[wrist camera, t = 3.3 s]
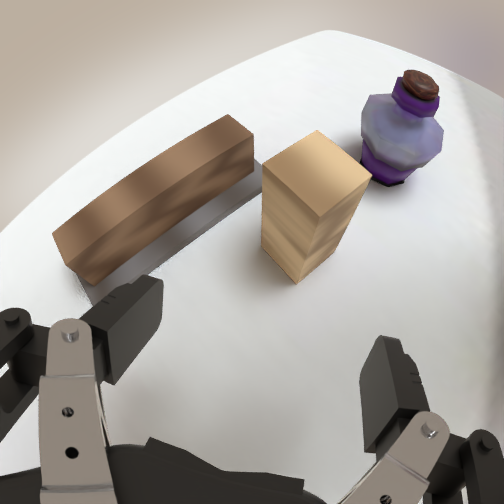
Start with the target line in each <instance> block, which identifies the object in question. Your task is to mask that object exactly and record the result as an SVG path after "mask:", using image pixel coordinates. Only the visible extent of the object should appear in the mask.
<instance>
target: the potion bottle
mask: <svg viewBox="0 0 504 504" xmlns="http://www.w3.org/2000/svg"><path fill="white" fill-rule="evenodd" d="M438 92H439V86H438V85H437V84H436V83H435V81H434V80H433V79H432V78H431V77H430V76H428V75H427V74H425V73H422V72H420V71H416V70H407V71H404V75H403V77H398V78H397V81H396V84H395V86H394V89H393V92H392V94H376V95H370V96H369V98H368V100H367V102H366V104H365V106H364V108H363V111H362V116H361V136H362V138H363V146H362V158H361V160H360V164H361V165H362V166H363V167H364V168H365V169H366V170H367V171H368V172H370V173H371V174H372V177H371V179H372V180H374V181H376V182H378V183H380V184H382V185H384V186H387V187H390V186H395V185H399V184H403V183H404V180H405V178H407V177H408V176H409V175H410V174H411V173H412V172H414V171H415V170H416V169H417V168H421V167H423V166H425V165H426V164H427V163H428V162H429V161H430V160H431V159H433V158H434V157H435V156H436V155H437V154H438V153H440V152H441V148H442V141H443V132H444V130H443V129H442V128H441V126H440V125H439V124H438V122H437V121H436V120H435V119H434V115H435V113H436V111H437V109H438V107H439V99H440V97H439V96H438Z"/></svg>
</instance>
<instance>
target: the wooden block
mask: <svg viewBox="0 0 504 504" xmlns="http://www.w3.org/2000/svg"><path fill="white" fill-rule="evenodd" d="M371 177H372V174H371V173H370V172H368V171H367V170H366V169H365V168H364V167H363V166H361V165H360V164H359V163H358V162H357V161H356V160H354V159H353V158H352V157H351V156H350V155H348V154H347V153H346V152H345V151H343V150H342V149H341V148H340V147H339V146H337V145H336V144H335V143H334V142H332V141H331V140H330V139H328V138H327V137H326V136H325V135H323V134H322V133H321V132H319V131H318V130H316V131H315V132H313V133H311V134H309V135H308V136H306V137H305V138H303V139H301V140H300V141H298V142H296V143H295V144H293V145H291V146H290V147H288V148H287V149H285V150H283V151H282V152H280V153H278V154H277V155H275V156H274V157H272V158H271V159H269V160H267V161H266V162H264V163H263V164H262V227H261V247H262V248H263V249H264V250H265V251H266V252H267V253H268V254H269V255H270V256H271V257H272V259H273V260H274V261H275V262H276V263H277V264H278V265H279V266H280V267H281V268H282V269H283V270H284V271H285V273H286V274H287V275H288V276H289V277H290V278H291V279H292V280H293V281H294V282H295V283H296V284H298V283H299V282H300V281H301V280H302V279H304V278H305V277H306V276H307V275H308V274H310V273H311V272H312V271H313V270H314V269H315V268H317V267H318V266H319V265H320V264H321V263H322V262H324V261H325V260H326V259H327V258H328V257H329V256H330V255H332V254H333V253H334V252H335V250H336V248H337V246H338V244H339V242H340V240H341V238H342V236H343V234H344V232H345V230H346V228H347V226H348V224H349V222H350V220H351V218H352V216H353V214H354V212H355V210H356V208H357V206H358V204H359V202H360V200H361V198H362V196H363V194H364V192H365V190H366V188H367V185H368V183H369V181H370V179H371Z"/></svg>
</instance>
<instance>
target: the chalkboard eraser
mask: <svg viewBox="0 0 504 504" xmlns="http://www.w3.org/2000/svg"><path fill="white" fill-rule="evenodd" d="M261 192H262V165H261V164H260V163H258V162H257V161H256V160H255V159H254V135H253V134H252V133H251V132H250V131H249V130H247V129H246V128H245V127H244V126H242V125H241V124H240V123H239V122H237V121H236V120H235V119H234V118H232V117H231V116H230V115H228V114H227V115H225V116H224V117H222V118H220V119H218V120H216V121H215V122H213V123H211V124H209V125H207V126H206V127H204V128H202V129H200V130H199V131H197V132H195V133H194V134H192V135H190V136H188V137H187V138H185V139H183V140H182V141H180V142H179V143H177V144H175V145H174V146H172V147H170V148H169V149H167V150H166V151H164V152H162V153H161V154H159V155H158V156H156V157H155V158H153V159H152V160H150V161H148V162H147V163H145V164H144V165H142V166H141V167H139V168H138V169H136V170H135V171H134V172H132V173H131V174H129V175H128V176H126V177H125V178H123V179H122V180H121V181H119V182H118V183H116V184H115V185H114V186H112V187H111V188H109V189H108V190H107V191H105V192H104V193H103V194H101V195H100V196H98V197H97V198H96V199H94V200H93V201H92V202H90V203H89V204H88V205H87V206H85V207H84V208H83V209H81V210H80V211H79V212H78V213H76V214H75V215H74V216H73V217H71V218H70V219H69V220H68V221H66V222H65V223H64V224H63V225H61V226H60V227H59V228H58V229H57V230H55V231H54V232H53V233H52V235H53V238H54V240H55V242H56V245H57V247H58V249H59V252H60V254H61V256H62V259H63V261H64V263H65V265H66V266H67V267H69V268H70V269H71V270H73V271H74V272H75V273H76V274H77V276H78V278H79V280H80V282H81V284H82V286H83V288H84V290H85V292H86V293H87V295H88V297H89V299H90V301H91V303H92V305H93V306H94V305H95V304H97V303H98V302H99V301H100V302H101V299H103V298H104V297H105V296H107V295H108V293H110V292H111V291H112V290H113V289H114V288H116V287H118V286H121V285H123V284H126V283H130V284H132V283H133V282H134V281H135V280H137V279H138V278H139V277H140V276H141V275H143V274H145V275H148V274H149V273H150V272H152V271H153V270H154V269H156V268H157V267H158V266H160V265H161V264H162V263H164V262H165V261H166V260H168V259H169V258H170V257H172V256H173V255H174V254H176V253H177V252H178V251H180V250H181V249H182V248H184V247H185V246H187V245H188V244H189V243H191V242H192V241H193V240H195V239H196V238H197V237H199V236H200V235H202V234H203V233H204V232H206V231H207V230H208V229H210V228H211V227H213V226H214V225H215V224H217V223H218V222H220V221H221V220H222V219H224V218H225V217H227V216H228V215H229V214H231V213H232V212H234V211H235V210H237V209H238V208H239V207H241V206H242V205H244V204H245V203H247V202H248V201H249V200H251V199H252V198H254V197H255V196H257V195H258V194H259V193H261Z"/></svg>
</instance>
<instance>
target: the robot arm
mask: <svg viewBox="0 0 504 504" xmlns="http://www.w3.org/2000/svg"><path fill="white" fill-rule="evenodd" d="M163 286H164V285H163V281H162V280H161V279H158V278H154V277H151V276H148V275H145V274H143V275H141V276H140V277H139V278H138V279H137V280H135V281H134V282H133V283H132V284H130V283H126V284H123V285H121V286H118V287H116V288H114V289H113V290H112V291H111V292H110V293H108V295H107V296H105V297H104V298H103V299H101V302H100V301H99V302H98V303H97V304H95V305H94V306H93V307H92V308H91V309H90V310H88V311H87V312H86V313H85V314H84V315H83V316H82V317H80V318H79V319H73V318H70V319H63V320H60V321H58V322H56V323H55V324H54V325H52V327H51V328H49V327H44V326H39V325H35V324H32V321H31V316H30V314H29V313H28V312H27V311H26V310H24V309H21V308H10V309H6V310H4V311H2V312H0V369H1V368H2V367H3V366H4V365H5V364H6V363H7V364H8V367H9V369H8V370H7V371H6V372H5V373H4V375H3V376H2V377H1V378H0V442H1V441H2V440H3V438H4V437H5V436H6V435H7V433H8V432H9V431H10V429H11V428H12V427H13V425H14V424H15V423H16V422H17V420H18V419H19V418H20V417H21V415H22V414H23V413H24V411H25V410H26V409H27V408H28V407H29V405H30V404H31V403H32V402H33V400H34V399H35V398H36V397H37V395H38V394H39V449H40V463H41V467H38V468H34V469H30V470H26V471H22V472H17V473H13V474H8V475H4V476H0V504H327V503H326V502H324V501H323V500H322V499H320V498H319V497H317V496H315V495H313V494H311V493H309V492H307V491H305V490H303V487H304V479H298V478H292V477H286V476H281V475H276V474H271V473H261V472H230V471H223V470H220V469H218V468H216V467H214V466H213V465H211V464H209V463H207V462H205V461H204V460H202V459H200V458H198V457H197V456H195V455H193V454H191V453H190V452H188V451H186V450H184V449H181V448H178V447H175V446H172V445H170V444H167V443H164V442H162V441H159V440H157V439H154V438H151V437H150V438H149V439H148V441H147V443H146V445H145V446H143V445H133V444H122V445H113V446H112V445H111V441H110V437H109V433H108V428H107V423H106V417H105V411H104V405H103V399H102V392H101V387H100V384H101V383H102V382H103V381H105V382H107V383H110V384H112V385H115V384H116V383H117V381H118V380H119V379H120V377H121V376H122V375H123V373H124V372H125V371H126V369H127V368H128V367H129V366H130V364H131V363H132V362H133V360H134V359H135V358H136V356H137V355H138V354H139V353H140V351H141V350H142V349H143V347H144V346H145V345H146V344H147V342H148V341H149V340H150V339H151V337H152V336H153V335H154V333H155V332H156V331H157V329H158V327H159V325H160V322H161V319H162V306H163ZM421 383H422V382H421V378H420V376H419V372H418V369H417V366H416V364H415V362H414V361H413V360H412V359H411V357H410V356H409V355H408V354H404V351H403V348H402V345H401V342H400V340H399V339H396V338H392V337H387V336H382V335H380V336H379V337H378V338H377V339H376V341H375V343H374V345H373V348H372V350H371V352H370V354H369V356H368V358H367V360H366V362H365V364H364V366H363V368H362V370H361V374H360V380H359V384H360V395H361V406H362V419H363V435H364V452H366V453H376V462H375V463H374V465H373V466H372V467H371V468H370V469H369V470H368V471H367V473H366V474H365V475H364V476H363V477H362V478H361V479H360V480H359V481H358V482H357V483H356V485H355V486H354V487H353V488H352V489H351V490H350V491H349V492H348V493H347V494H346V495H345V496H344V497H343V498H342V499H341V500H340V501H339V502H338V503H337V504H418V502H419V501H420V499H421V497H422V496H423V504H463V499H462V492H461V489H463V488H464V487H465V486H466V489H467V496H468V504H504V458H503V454H502V451H501V448H500V444H499V442H498V440H497V439H496V437H495V436H494V435H493V434H491V433H490V432H488V431H486V430H482V429H479V430H475V431H474V432H473V433H472V434H471V435H470V436H469V437H468V438H467V439H466V438H463V437H460V436H457V435H454V434H451V433H450V431H449V427H448V425H447V423H446V422H445V421H444V419H442V418H441V417H440V416H439V415H437V414H435V413H432V412H430V409H429V405H428V402H427V398H426V395H425V391H424V388H423V385H422V384H421Z"/></svg>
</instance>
